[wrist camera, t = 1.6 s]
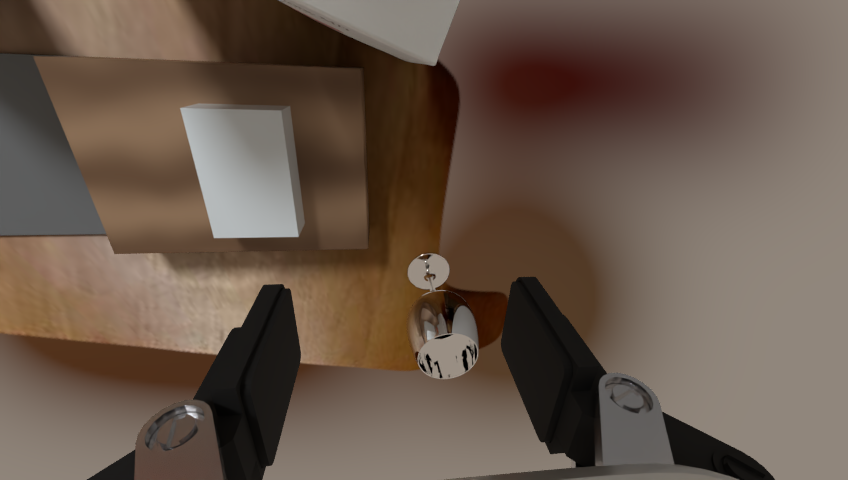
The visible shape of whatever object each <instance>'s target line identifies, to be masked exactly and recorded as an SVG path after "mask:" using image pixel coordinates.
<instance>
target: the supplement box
mask: <svg viewBox="0 0 848 480" xmlns="http://www.w3.org/2000/svg"><path fill="white" fill-rule="evenodd" d="M278 1H280V2H282V3H284V4H286V5H287V6H289V7H291V8H293V9H294V10H296V11H298V12H300V13H302V14H304V15H306V16H308V17H309V18H311V19H313V20H315V21H317V22H319V23H321V24H323V25H325V26H327V27H329V28H332V29H334V30H336V31H338V32H340V33H342V34H344V35H347V36H349V37H351V38H353V39H356V40H358V41H360V42H362V43H365V44H367V45H369V46H372V47H374V48H376V49H379V50H381V51H384V52H386V53H388V54H390V55H393V56H395V57H397V58H399V59H402V60H404V61H407V62H412V63H419V64H426V65H431V66H435V65H436V63H437V60H438V57H439V54H440V51H441V48H442V46H443V43H444V41H445V38H446V36H447V33H448V30H449V28H450V25H451V22H452V20H453V17H454V15H455V12H456V9H457V7H458V4H459V2H460V0H278Z"/></svg>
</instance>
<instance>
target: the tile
mask: <svg viewBox="0 0 848 480" xmlns="http://www.w3.org/2000/svg"><path fill="white" fill-rule="evenodd" d="M180 110H181V114H182V117H183V121H184V125H185V129H186V133H187V137H188V140H189V144H190V148H191V152H192V156H193V160H194V163H195V167H196V171H197V175H198V179H199V183H200V186H201V190H202V194H203V198H204V202H205V206H206V209H207V213H208V217H209V221H210V225H211V229H212V232H213V236H214V238H258V237H299V235H300V233H301V231H302V228H303V226H304V224H305V220H304V212H303V204H302V196H301V188H300V181H299V173H298V165H297V157H296V149H295V141H294V133H293V125H292V118H291V110H290V106H276V105H238V104H200V103H198V104H194V105H190V106H186V107H182V108H180Z"/></svg>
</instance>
